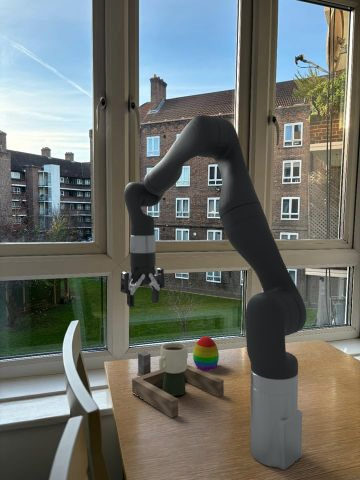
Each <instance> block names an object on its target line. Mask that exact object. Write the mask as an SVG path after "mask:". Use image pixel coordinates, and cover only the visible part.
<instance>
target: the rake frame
mask: <svg viewBox="0 0 360 480" xmlns="http://www.w3.org/2000/svg"><path fill="white" fill-rule="evenodd" d="M151 365H152V364H151V353H150V352H147V351H145V350H144V351H141V352H137V374H136V375H137V377H133V378H132V379H131V390H132V391H131V392H133V393H135V394H136V395H138V396H139V397H141V398H142V399H144V400H145V401H147V402H148V403H147V402H146V403H147V404H149V403H150V404H151V405H150V404H149V405H150V406H152V405H153V406H154V408H155V407H156V408H155V409H157V408H158V409H159V411H160V412H162V413H163V414H165V415H167V416H168V417H169V418H171V419H172V418H174V417H177V416H179V399H178V398H177V397H175V395H170V394H168V393H166V392H165V391H163V389H161V388H162V387H163V381H164V374H165V371H163V370H160V369H158V370H155V371H153V372H151V371H152V369H151V367H152V366H151ZM183 374H184V380H185V383H189V384H190V385H193V386H195V387H196V388H199V389H201V390H203V391H204V392H206V393H210V394H212V395H213V396H215V397H217V398H220V397H222V396H224V395H225V394H224V391H225V390H224V389H225V387H224V383H225V382H224V379H222V378H219V377H217V376H214V374H213V375H212V374H210V373H208V372H206V371H204V370H200V369H198V368H197V367H194V366H193V365H189V364H187V368H186V370H185V371H184V372H183ZM138 376H140V377H138ZM161 386H162V387H161ZM158 387H159V388H158ZM133 393H132V394H133ZM136 395H135V396H136ZM139 397H138V398H139ZM141 398H140V399H141ZM142 399H141V400H142ZM144 400H143V401H144ZM145 401H144V402H145ZM153 406H152V407H153ZM158 409H157V410H158Z"/></svg>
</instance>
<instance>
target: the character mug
mask: <svg viewBox="0 0 360 480" xmlns="http://www.w3.org/2000/svg"><path fill="white" fill-rule="evenodd" d="M188 352H189V350H188V346H187V344H184V343H183V342H174V341H173V342H164V343H163V344H161V346H160V358H159V360H158V368H159V369H158V370H163V371H165V374H164V381H163V386H162V390H163V391H165V392H166V393H168V394H170V395H172V396H174V397H175V396H176V397H177V396H182V395H184V394H185V392H186V391H187V390H186V381H185V380H184V374H183V372H184V371H185V370H186V368H187V365H188V357H189V353H188Z"/></svg>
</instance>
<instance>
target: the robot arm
mask: <svg viewBox="0 0 360 480" xmlns="http://www.w3.org/2000/svg"><path fill="white" fill-rule="evenodd" d="M196 157H201V158H210V159H213V160H214V162H216V165H217V167H218V170H219V173H220V176H221V188H220V189H221V190H220V195H219V199H218V216H219V218H220V222H221V225H222V227H223V230H224V233H225V235H226V238H227V239H228V241H229V243H230V244H231V245H232V247H233V248H234V250H235V251H236V252H237V253H238V254H239V255H240V256H241V257H242V258H243V259H244V260H245V262H247V264H248V265H249V266H250V267H251V269H252V270H253V271H254V273H255V275H256V276H257V278H258V280H259V283H260V286H261V289H262V291H263V292H259V293H255V294H254V295H252V296H251V297H250V299H249V300H248V302H247V304H246V309H245V321H244V322H245V336H246V337H245V338H246V339H245V342H246V343H245V344H246V352H247V356H248V358H249V362H250V424H249V425H250V428H249V429H250V440H249V441H250V446H249V448H250V454H251V456H252V457H253V459H254V460H256V461H257V462H259V463H261V464H263V465H266V466H268V467H272V466H273V467H274V468H279V469H281V470H283V471H285V470H286V469H288V468H289V467H291V466H292V465H293V464H295V463H296V462H297V461H299V460H298V459H299V458H300V459H301V458H302V455H303V453H302V449H303V448H302V446H303V443H302V442H303V439H302V438H303V437H302V436H303V412H302V410H300V409H299V407H298V406H299V403H298V402H299V401H298V400H299V399H298V398H299V360H298V358H297V356H296V355H294V354H293V353H291V352H288V351H287V350H286V348H287V347H286V337H287V336H290V335H292V334H296V333H298V332H300V331H301V330H302V329H303V328H304V327H305V325H306V322H307V309H306V304H305V301H304V299H303V297H302V295H301V293H300V291H299V289H298V287H297V286H296V283H295V282H294V279H293V278H292V276H291V273H290V272H289V269H288V268H287V266H286V264H285V262H284V260H283V257H282V255H281V253H280V250H279V247H278V245H277V242H276V241H275V238H274V236H273V233H272V230H271V228H270V226H269V223H268V220H267V219H268V218H267V217H266V214H265V212H264V211H265V210H264V209H263V206H262V204H261V201H260V199H259V197H258V195H257V192H256V189H255V187H254V184H253V181H252V179H251V176H250V174H249V171H248V168H247V164H246V161H245V158H244V155H243V151H242V147H241V143H240V139H239V136H238V133H237V130H236V128H235V126H234V125H233V123H232V122H231V121H230V120H228V119H225V118H222V117H218V116H212V115H206V114H199V115H195V116H194V117H193V118H192V119H191V120H190V121H189V122H188V123H187V124H186V125H185V126H184V128H183V129H182V131H181V132H180V133H179V135H178V137H177V138H176V140H175V141H174V142H173V144H172V145H171V146H170V148H169V149H168V151H167V152H166V153H165V155H164V156H163V157H162V159H161V160H160V161H159V162H158V163H157V164H155V165H154V167H152V168H151V169H150V170H149V171H148V172H147V173H146V175H145V176H144V177H143V182H139V181H138V182H137V181H131V182H128V183H127V184H126V186H125V188H124V192H123V199H124V203H125V206H126V210H127V214H128V217H129V222H130V238H129V239H130V241H129V265H130V272H127V271H126V272H125V271H121V273H120V288H119V289H120V293H123V294H126V305H127V306H128V307H129V308H134V307H135V294H134V293H135V292H136V291H137V289H138V288H140V287H141V286H144V285H147V286H148V285H149V287H150V288H151V303H153V304H158V303H159V299H160V298H159V297H160V290H161V289H164V288H165V270H164V268H161V267H156V268H155V266H156V265H157V264H156V261H157V260H156V255H157V253H156V249H157V248H156V236H155V218H154V217H153V216H152V215H150V214H146V213H144V211H143V210H142V208H143V207H145V208H146V207H149V208H150V207H154V206H156V205H158V204H159V203H160V201H161V200H162V198H163V196H164V194H165V192H167V191H168V190H169V189H171V188H172V187H173V186H174V185H175V184H176V183H178V181H179V180H180V178H181V176H182V173H183V166H184V165H185V163H187V162H189V161H191V160H192V159H194V158H196ZM155 277H156V279H155ZM295 461H296V462H295ZM273 467H272V468H273Z"/></svg>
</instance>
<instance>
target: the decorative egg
mask: <svg viewBox="0 0 360 480" xmlns="http://www.w3.org/2000/svg"><path fill="white" fill-rule="evenodd" d="M219 353H220V352H219V349H218V346H217V344H216V342H215V340H214V339H212V338H211V337H210V336H205V335H204V336H203V337H201V338H200V339H198V341H197V342H196V344H195V346H194V348H193V351H192V359H193V363H194V365H195V368H196V369H199V370H201V371H203V372H206V371H207V372H208V371H212V370H214V369H215V368H216V367H217V365H218V363H219V359H220V356H219V355H220V354H219Z"/></svg>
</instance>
